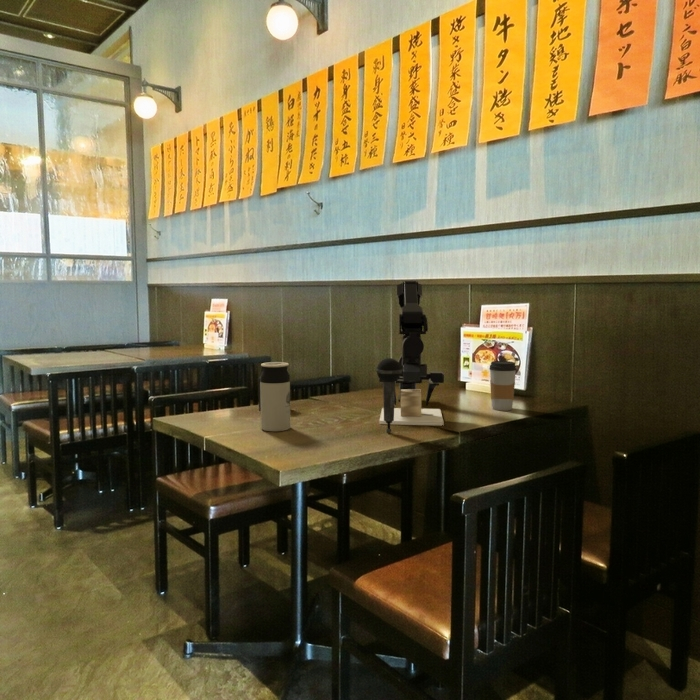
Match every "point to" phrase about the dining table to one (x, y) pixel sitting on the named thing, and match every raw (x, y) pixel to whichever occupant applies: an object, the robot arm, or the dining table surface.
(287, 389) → the travel mug
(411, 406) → the cardboard box
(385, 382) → the microphone
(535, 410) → the dining table surface
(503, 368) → the coffee cup
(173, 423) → the dining table surface
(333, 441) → the dining table surface
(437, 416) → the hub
